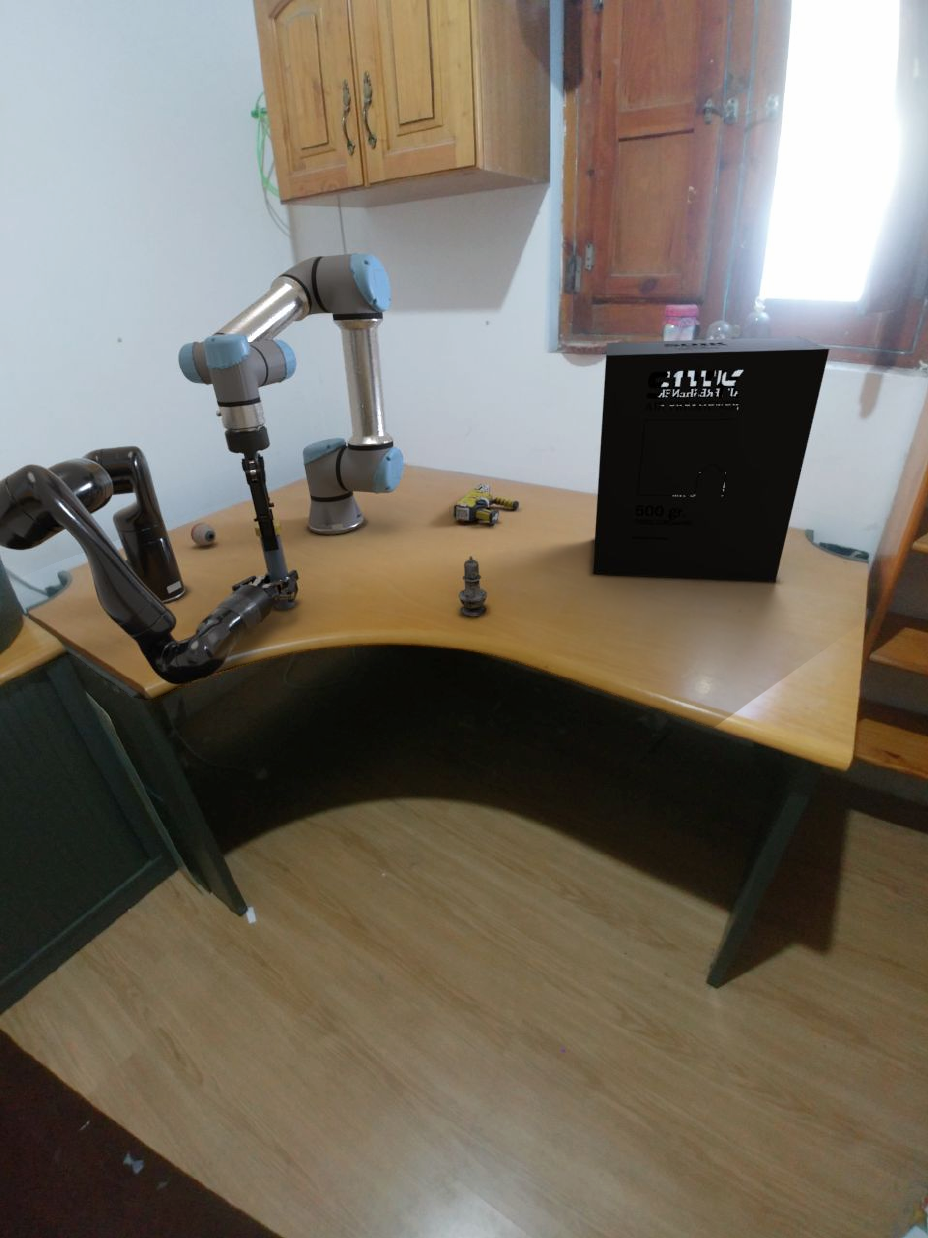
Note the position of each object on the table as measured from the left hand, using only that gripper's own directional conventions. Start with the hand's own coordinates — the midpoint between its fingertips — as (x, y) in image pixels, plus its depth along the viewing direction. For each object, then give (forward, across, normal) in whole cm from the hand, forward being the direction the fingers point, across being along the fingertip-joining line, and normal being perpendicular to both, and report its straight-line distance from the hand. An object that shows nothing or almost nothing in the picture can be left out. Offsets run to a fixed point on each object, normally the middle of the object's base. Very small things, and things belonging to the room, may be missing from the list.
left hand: (285, 573), depth 128 cm
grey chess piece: (+1, -41, +6) cm, 41 cm away
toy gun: (+58, -33, +6) cm, 67 cm away
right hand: (-3, 0, -8) cm, 8 cm away
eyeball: (+25, +38, +6) cm, 46 cm away
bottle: (-3, 0, +6) cm, 7 cm away
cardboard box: (+32, -82, +6) cm, 88 cm away
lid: (-3, 0, -12) cm, 12 cm away
